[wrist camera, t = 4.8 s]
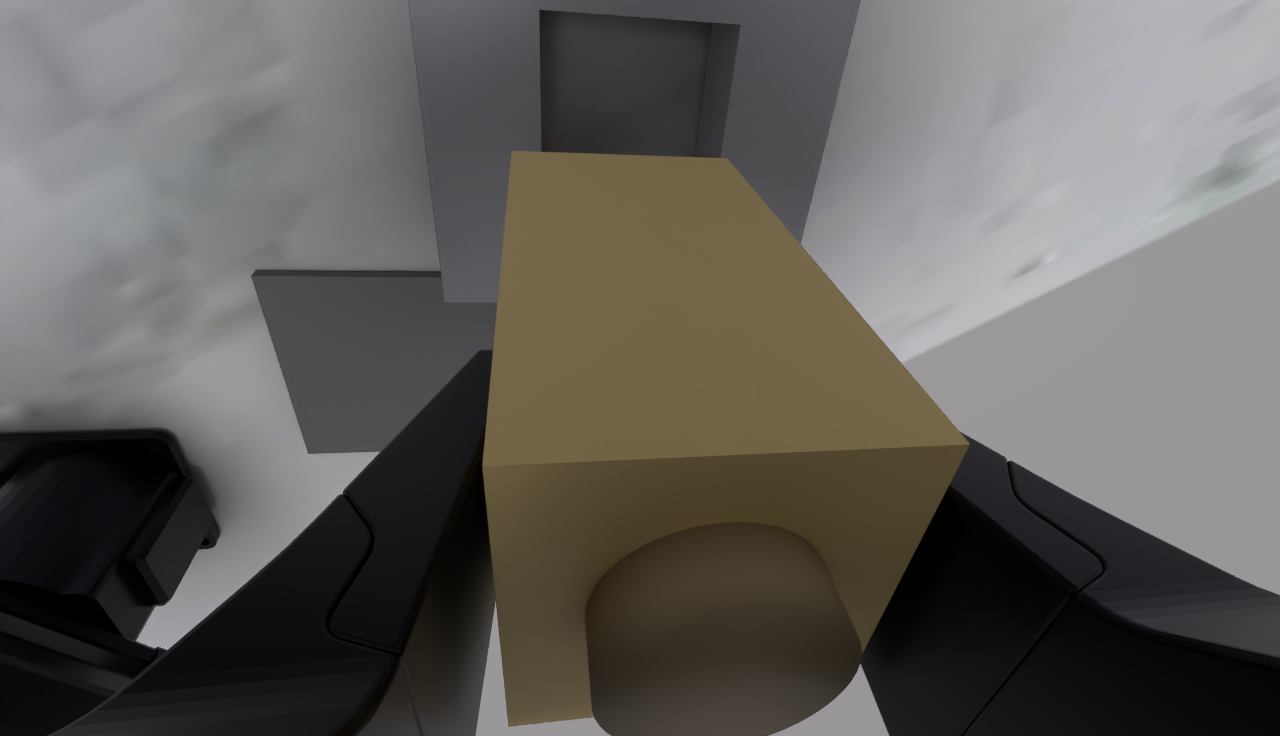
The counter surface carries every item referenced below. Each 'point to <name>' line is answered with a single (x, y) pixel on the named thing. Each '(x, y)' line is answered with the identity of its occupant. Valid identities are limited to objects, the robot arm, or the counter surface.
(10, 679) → the robot arm
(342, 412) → the pad
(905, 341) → the counter surface
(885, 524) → the plug
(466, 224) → the socket block
